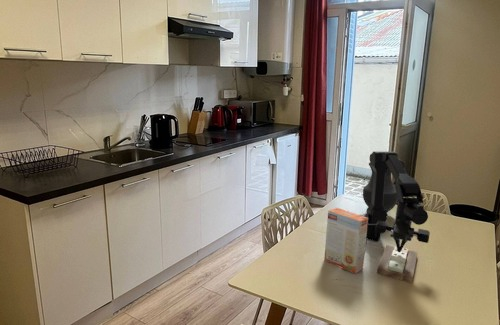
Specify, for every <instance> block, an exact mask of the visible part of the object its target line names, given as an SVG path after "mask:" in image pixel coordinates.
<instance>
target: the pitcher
mask: <svg viewBox="0 0 500 325" xmlns="http://www.w3.org/2000/svg"><path fill="white" fill-rule="evenodd" d="M399 160H400V162H401V164H402V165H403V167H404V169H405V163H404V161H403V160H401V159H400V158H399ZM368 166H369V168H370V169H371V176H370V179H369V181H368V183H367V184H366V185H365V186H363V189H362V198H363V201H364V203H365V205H366V206H367V208H368V207H369V205H370V204H371V199H372V186H373V173H374V171H373V169H372V167H371V165H370V162H368ZM405 170H406V169H405ZM391 176H392V173H391V171H390V170H389V168H388V170H387V171H386V173H385V184H384V196H383V207H384V208H385V210H386V211H387V217H388V213H389V212H390V211H391V210H393V209H394V207H395V206H396V204H397V203H398V199H397V198H396V196H398V195H397V193H396V189H395V184H396V181H395V180H394V181H393V180H392V177H391Z"/></svg>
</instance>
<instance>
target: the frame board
mask: <svg viewBox="0 0 500 325" xmlns="http://www.w3.org/2000/svg"><path fill="white" fill-rule="evenodd" d="M394 248H395V246H393V245H385V248H384V250H383V252H382V256H381V258H380V261H379V264H378V266H377V268H376V269H377V270H376V271H377V272H376V274H378V275H382V276H386V277H390V278H393V279H397V280H402V281H405V282H409V283H413V279H414V274H415V269H416V265H417V264H416V263H417V258H418V252H417V251H414V250H410V249H408V254H407V257H406V262H405V265H404V271H403V273H400V272H396V271H392V270H388V266H389V263H390V260H391V255H392V252H393V250H394Z"/></svg>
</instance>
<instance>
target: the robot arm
mask: <svg viewBox="0 0 500 325" xmlns="http://www.w3.org/2000/svg"><path fill="white" fill-rule="evenodd" d="M399 159H400V158H399V154H398V152H396V151H372V153H370V155H369V163H370V165H371V167H372V169H373V171H374V173H373V186H372V199H371V204H370V205H369V207H368V206H367V208H366V211H365V212H366V213H365V214H364V215H363V216H364V217H367V218H368V225H367V235H366V240H368V241H369V240H370V241H374V242H379V240H380V239H381V237H382V234H384V233H386V231H388V232H390V237H391V238H393V239H394V242H395V246H397V250H398V252H401V250H402V248H404V246H405V244H406V243H407V242H408V241H409V242H411V241H412V238H414V237H416V240H418V242H421V243H425V244H426V243H429V240H430V235H431V234H430V232H431V231H429V230H427V229H423V228H418V230H417V231H416V230H415V228H414V227H412V223H413V224H415V225H417V226H421V225H423V224H425V223H427V220H428V219H429V214H428V212H427V210H425V209H424V208H425V206H424V205H423V203H424V196H423V194H422V190H421V186H420V184H419V182H418V181H416V180H417V179H415V178H414V177H412V176H410V175H409V174H408V173H407V171H406V169H404V167H403V165H402V164H401V162H400V160H401V159H400V160H399ZM388 168H389V170H390V171H391V176H392V177H393V179H394V182H395V181H396V184H395V189H396V193H397V195H398V196H396V198H397V199H398V200H397V203H396V204H397V206H396V212H395V217H394V218H395V219H394V223H393V225H392V226H391V225H389V222H388V221H387V220H388V216H387V214H388V212H387V211H386V210H385V208H384V207H383V196H384V184H385V173H386V171H387V170H388Z"/></svg>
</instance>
